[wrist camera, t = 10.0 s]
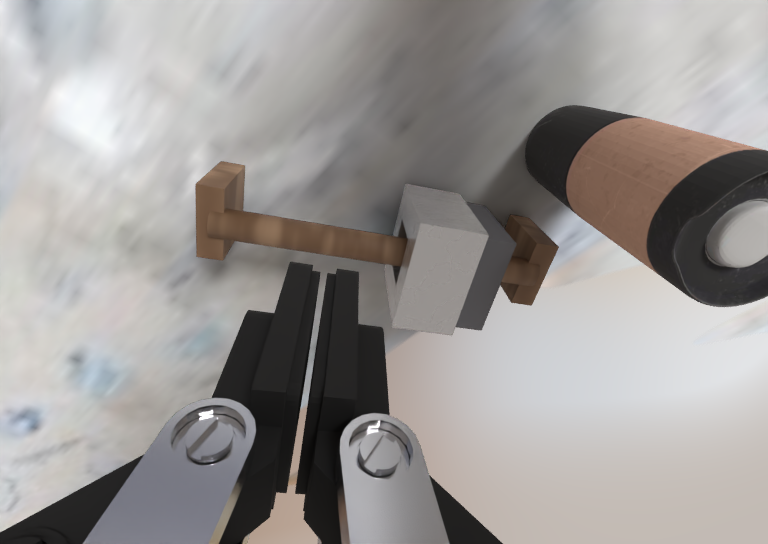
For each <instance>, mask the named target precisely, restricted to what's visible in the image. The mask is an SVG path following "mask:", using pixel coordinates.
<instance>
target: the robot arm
mask: <svg viewBox="0 0 768 544" xmlns="http://www.w3.org/2000/svg"><path fill="white" fill-rule="evenodd" d="M312 268H313V265H308V264H302V263H295V262H290V264H289V267H288V270H287V274H286V277H285V280H284V283H283V287H282V290H281V293H280V296H279V300H278V303H277V306H276V310H275V313H267V312H260V311H252V310H248V311H247V313H246V315H245V317H244V320H243V322H242V325H241V327H240V330H239V332H238V335H237V337H236V339H235V342H234V344H233V347H232V349H231V352H230V354H229V357H228V359H227V362H226V364H225V367H224V369H223V372H222V374H221V377H220V379H219V381H218V384H217V386H216V389H215V391H214V394H213V396H212V398H210V399H203V400H200V401H197V402H194V403H192V404H189V405H187V406H186V407H184V408H182V409H181V410H179V411H178V412H176V413H175V414H174V415H173V416H172V417H171V419H170V420H169V421H168V422H167V423H166V424H165V426H164V427H163V428H162V430H161V431H160V433H159V434H158V436H157V437H156V439H155V440H154V441H153V443H152V444H151V446H150V447H149V449H148V450H147V452H146V453H145V454H144V455H142V456H140V457H138V458H137V459H135V460H133V461H131V462H129V463H127V464H126V465H124V466H122V467H120V468H118V469H116V470H115V471H113V472H111V473H109V474H107V475H105V476H103V477H102V478H100V479H98V480H96V481H94V482H92V483H91V484H89V485H87V486H85V487H83V488H81V489H80V490H78V491H76V492H74V493H72V494H70V495H69V496H67V497H65V498H63V499H61V500H59V501H57V502H56V503H54V504H52V505H50V506H48V507H46V508H45V509H43V510H41V511H39V512H37V513H35V514H34V515H32V516H30V517H28V518H26V519H24V520H23V521H21V522H19V523H17V524H15V525H13V526H11V527H10V528H8V529H6V530H4V531H2V532H0V544H247V543H248V539H249V534H250V533H251V532H252V531H253V530H254V529H256V528H257V527H258V526H260V525H261V524H262V523H263V522H264V521H266V520H267V519H268V518H269V517H270V513H271V509H273V506H274V502H275V496H276V492H280V493H286V492H287V487H288V481H289V474H290V468H291V462H292V456H293V450H294V443H295V437H296V431H297V425H298V419H299V413H300V407H301V400H302V394H303V388H304V382H305V376H306V370H307V363H308V357H309V350H310V343H311V336H312V329H313V322H314V315H315V308H316V301H317V294H318V287H319V279H320V272H316V271H312ZM358 290H359V272H356V271H349V270H342V269H337V271H336V274H330V273H328V274H327V280H326V286H325V293H324V300H323V306H322V313H321V319H320V326H319V332H318V339H317V345H316V352H315V359H314V365H313V372H312V379H311V386H310V393H309V400H308V407H307V415H306V421H305V428H304V435H303V443H302V450H301V456H300V463H299V470H298V477H297V484H296V491H295V493H296V494H305V502H304V509H303V511H305V513H304V520H305V521H306V523H307V524H308V525H309V526H310V527H311V529H312V530H313V531H314V533H315V534H316V535H317V536H318V544H503V543H501V542H500V541H499V540H498V539H497V538H496V537H495V536H494V535H493V534H492V533H491V532H489V530H487V529H486V528H485V527H484V526H483V525H482V524H481V523H480V522H479V521H478V520H477V519H476V518H475V517H474V516H472V515H471V514H470V513H469V512H468V511H467V510H466V509H465V508H464V507H463V506H462V505H461V504H460V503H459V502H457V501H456V500H455V499H454V498H453V497H452V496H451V495H450V494H449V493H448V492H447V491H445V490H444V489H443V488H442V487H441V486H440V485H439V484H438V483H437V482H436V481H435V480H434V479H433V478H432V477H431V476H430V475H429V473H428V470H427V466H426V463H425V460H424V456H423V453H422V449H421V446H420V444H419V442H418V439H417V437H416V435H415V434H414V433H413V432H412V430H411V429H410V428H409V427H408V426H407V425H406V424H404V423H403V422H402V421H400V420H399V419H397V418H394V417H391V416H390V415H389V402H388V387H387V373H386V359H385V344H384V332H383V328H382V327H376V326H368V325H360V324H358Z"/></svg>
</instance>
